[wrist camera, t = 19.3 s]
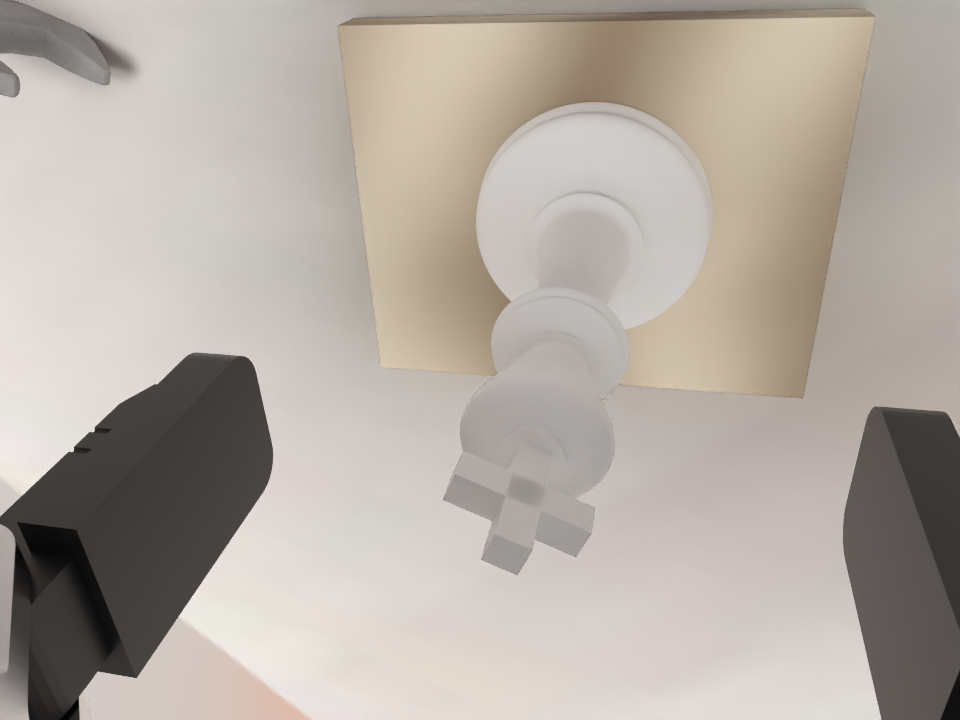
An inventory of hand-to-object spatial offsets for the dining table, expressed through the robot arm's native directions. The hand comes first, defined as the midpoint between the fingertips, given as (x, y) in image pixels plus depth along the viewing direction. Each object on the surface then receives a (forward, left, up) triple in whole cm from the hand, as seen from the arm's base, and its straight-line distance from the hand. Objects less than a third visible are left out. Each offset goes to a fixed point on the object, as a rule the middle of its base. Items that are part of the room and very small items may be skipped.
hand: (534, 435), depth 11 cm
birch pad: (0, 0, -9) cm, 9 cm away
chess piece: (0, 0, -8) cm, 8 cm away
